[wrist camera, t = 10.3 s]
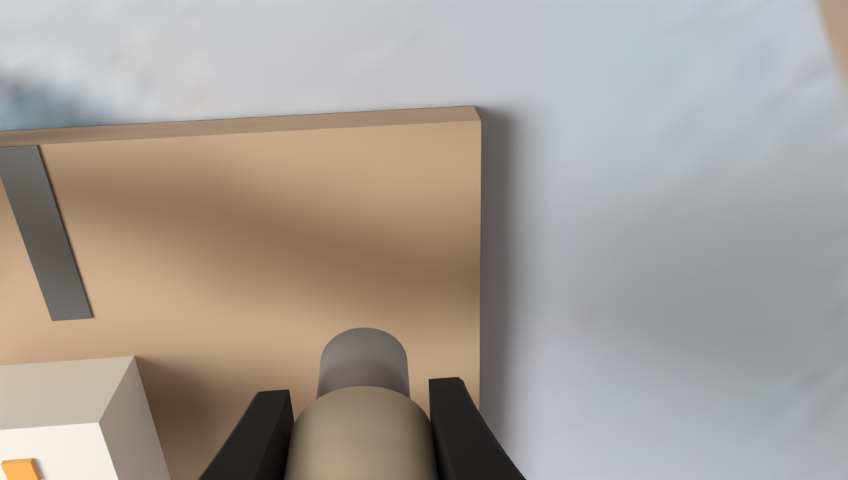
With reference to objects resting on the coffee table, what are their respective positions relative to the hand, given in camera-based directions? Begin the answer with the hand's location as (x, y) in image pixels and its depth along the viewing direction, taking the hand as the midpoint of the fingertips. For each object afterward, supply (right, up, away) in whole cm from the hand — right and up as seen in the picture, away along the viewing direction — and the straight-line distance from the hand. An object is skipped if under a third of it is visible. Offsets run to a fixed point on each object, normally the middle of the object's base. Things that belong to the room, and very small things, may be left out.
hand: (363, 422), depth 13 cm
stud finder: (-10, -4, +9) cm, 14 cm away
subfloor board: (-6, -2, +10) cm, 12 cm away
